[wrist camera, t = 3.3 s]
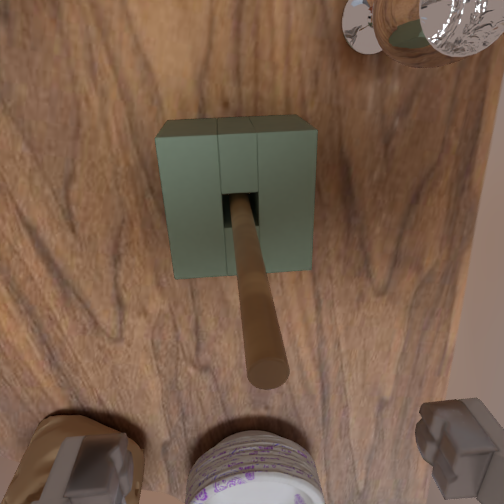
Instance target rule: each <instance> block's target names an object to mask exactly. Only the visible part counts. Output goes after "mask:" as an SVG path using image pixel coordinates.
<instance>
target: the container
mask: <svg viewBox="0 0 504 504" xmlns="http://www.w3.org/2000/svg"><path fill="white" fill-rule="evenodd" d="M113 433H121V432H119V431H117V430H114V429H112V428H109V427H107V426H104V425H102V424H100V423H98V422H96V421H94V420H92V419H90V418H88V417H85V416H82V415H69V416H68V415H57V416H54V417H52V416H49V417H48V418H47V419H43V420H42V421H41V423H40V424H39V425H38V427H37V429H36V431H35V433H34V435H33V437H32V439H31V442H30V445H29V447H28V449H27V450H26V452H25V454H24V456H23V458H22V460H21V462H20V464H19V466H18V468H17V470H16V472H15V475H14V477H13V480H12V482H11V483H10V485H9V487H8V489H7V492H6V494H5V496H4V498H3V500H2V502H1V504H31V503H32V502H33V501H38V500H39V499H40V497H41V494H42V492H43V489H44V487H45V484H46V481H47V479H48V476H49V474H50V471H51V469H52V466H53V464H54V461H55V459H56V456H57V453H58V451H59V448H60V446H61V443H62V442H63V441H64V440H65V438H66V437H73V436H85V435H99V434H113ZM127 438H128V437H127ZM127 449H128V450H129V451H130V452H131V453H132V457H133V465H134V470H133V482H132V488H131V491H130V492H129V494H128V495H127V496H126V497H125V501H126V504H139V499H140V494H141V487H142V482H143V475H144V465H145V464H144V462H145V458H144V455H143V453H144V449H140V448H139V446H138V445H137V444H136V443H135V442H134V441H133V440H132V439H130V438H128V445H127Z"/></svg>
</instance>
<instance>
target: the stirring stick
mask: <svg viewBox="0 0 504 504" xmlns="http://www.w3.org/2000/svg"><path fill="white" fill-rule="evenodd" d="M229 202H230V212H231V222H232V232H233V241H234V251H235V261H236V271H237V280H238V290H239V300H240V310H241V319H242V329H243V339H244V349H245V359H246V368H247V377H248V380H249V381H250V383H251V384H252V385H253V386H255V387H256V388H259V389H264V390H269V389H274V388H277V387H279V386H281V385H282V384H284V383H285V382H286V380H287V379H288V376H289V373H290V369H289V365H288V361H287V357H286V352H285V348H284V344H283V340H282V336H281V331H280V327H279V323H278V319H277V315H276V310H275V306H274V302H273V298H272V294H271V290H270V285H269V281H268V277H267V273H266V269H265V264H264V260H263V256H262V252H261V248H260V243H259V239H258V235H257V231H256V227H255V223H254V218H253V214H252V210H251V206H250V202H249V197H248V193H232V194H229Z"/></svg>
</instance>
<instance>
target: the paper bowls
mask: <svg viewBox="0 0 504 504" xmlns="http://www.w3.org/2000/svg"><path fill="white" fill-rule="evenodd" d="M185 504H325V501H324V496H323V493H322V489H321V485H320V481H319V477H318V473H317V469H316V466H315V463H314V461H313V459H312V457H311V455H310V454H309V453H308V452H307V451H306V450H305V449H304V448H303V447H302V446H300V445H298V444H297V443H295V442H293V441H291V440H289V439H285V438H283V437H280V436H278V435H276V434H273V433H270V432H267V431H260V430H250V431H243V432H239V433H236V434H233V435H231V436H228V437H227V438H225V439H223V440H222V441H221V442H219V443H218V444H217V445H216V446H215V447H213V448H211V449H210V450H209V451H207V452H206V453H205V454H204V455H202V456H201V457H200V458H199V459H198V460H197V461H196V462H195V464H194V465H193V467H192V468H191V470H190V472H189V475H188V479H187V488H186V499H185Z"/></svg>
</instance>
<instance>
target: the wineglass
mask: <svg viewBox="0 0 504 504" xmlns="http://www.w3.org/2000/svg"><path fill="white" fill-rule="evenodd" d="M342 31H343V36H344V38H345V40H346V42H347V43H348V45H349V46H350V47H351V48H352V49H353V50H355V51H356V52H358V53H361V54H366V55H370V54H376V53H379V52H381V51H384V52H385V54H387V55H388V56H389V57H390V58H391V59H392V60H394V61H396V62H398V63H400V64H402V65H405V66H408V67H412V68H435V67H440V66H444V65H448V64H451V63H454V62H458V61H460V60H463V59H465V58H467V57H470V56H472V55H474V54H476V53H478V52H480V51H482V50H484V49H485V48H487V47H488V46H489V45H491V44H492V43H493V42H494V41H496V40H497V39H498V38H499V36H500V35H501V34H502V33H503V32H504V0H348V1H347V3H346V5H345V7H344V11H343V15H342Z"/></svg>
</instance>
